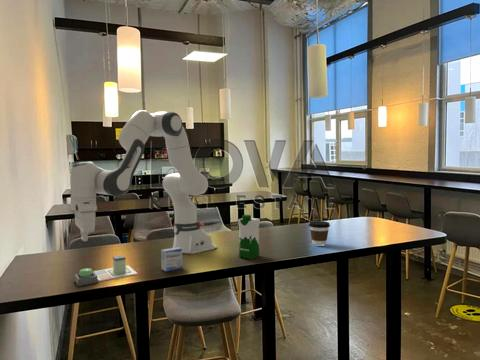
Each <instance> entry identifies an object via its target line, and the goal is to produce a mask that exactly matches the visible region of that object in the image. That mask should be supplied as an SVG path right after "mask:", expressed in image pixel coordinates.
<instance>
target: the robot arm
mask: <svg viewBox="0 0 480 360" xmlns="http://www.w3.org/2000/svg"><path fill="white" fill-rule="evenodd" d="M149 137H151V138H152V137H156V138H158V137H159V138H160V137H161V138H162V137H163V138H164V140H165V148H166V152H167V158H168V162H169V165H170V166H171V167H173V168H174V169H175V170H176V171H177V172H173V173H167V174H166V175H165V176H164V177H163V180H162V188H163V190H164V191H165V193H167V194H168V196H169V198H170V200H171V202H172V204H173V211H174V223H173V232H174V239H173V245H172V248H174V247H179V248H181V249H182V254H190V255H191V254H195V255H196V254H198V253H202V252H208V251H211V250H215V248H216V247H217V245H216V244H215V243H213V242H212V241H213V239H212V237H211V235H210V234H209V233H207V232H206V231H205V230H203V229H202V228H201V227H204V226H205V224H204V223H203V222H199V221H198V217H197V216H198V214H197V213H198V212H197V210H198V209H197V205H196V204H195V203H194V202H192V200H191V199H190V196H200V195H203V194H205V193H206V191H207V190H208V187H209V182H208V181H209V180H208V178H207V177H206V176H205V175H204V174H203V173H201V172H200V170H199V169H198V168H197V166H196V164H195V163H194V161H193V158H192V153H191V148H190V143H189V139H188V134H187V132H186V129H185V127H184V126H183V120H182V118H181V116H180V115H179V114H178V113H176V112H174V111H157V112H154V113H153V112H152V113H151V112H149V111H147V110H146V109H145V110H144V109H140V110H138V111H136V112H134V114H133V115H132V116H131V117H129V119H128V121H126V122H125V125H124V126H123V127H122V129H121V130H120V132H119V134H118V142H119V144H120V146H121V147H122V148H123V149H124V150H125V151H126V153H125V154H124V156H123V158H122V160H121V162H120V164H119V166H118V167H117V168H115V169H112V170H109V169H103V168H101V167H99V166H97V165H96V164H95V163H94V162H93V161H81V162H76V163H75V164H73V165H71V169H70V175H69V176H70V179H69V182H70V183H69V185H70V189H71V193H70V210H71V211H74V223H75V226H76V227H78V228H79V230H80V231H79V232H80V236H81V241H82V242H87V241H88V240H89V238H88V237H89V233H94V232H95V228H96V212H97V211H98V205H97V194H99V195H106V196H108V195H109V196H113V197H116V198H118V197H119V198H120V197H124V196H125V195H126V194H127V193H128V192H129V190H130V188H131V187H132V186H131V185H132V180H133V177H134V175H135V172H136V171H137V168H138V165H139V164H140V161H141V160H142V157H143V154H144V152H145V144H146V142H147V141H148V140H149ZM216 249H217V248H216Z"/></svg>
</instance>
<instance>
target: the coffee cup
mask: <svg viewBox="0 0 480 360" xmlns="http://www.w3.org/2000/svg"><path fill="white" fill-rule="evenodd" d="M330 226H331V224H330V222H328V221H325V220H313V221H309V223H308V227H309V228H310V230H309V232H310V236H311V240H312V241H311V242H312V245H313V244H317V245H322V244H326V243H327V240H328V235H329V228H330Z"/></svg>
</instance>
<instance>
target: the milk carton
mask: <svg viewBox="0 0 480 360" xmlns="http://www.w3.org/2000/svg"><path fill="white" fill-rule="evenodd" d="M260 222H261V219H260V218H255V217H252V215H251V214H242V217H241V218H239V219H237V224H238V243H239V245H238V247H239V248H238V258H239V257H243V258H242V259H244V258H249V259H248V260H250V259H252V260H254V259H253V258H255V257H257V256H259V255H260V239H259V238H260V237H259V235H260V231H259V229H260ZM259 257H260V256H259ZM257 258H258V257H257ZM255 259H256V258H255Z"/></svg>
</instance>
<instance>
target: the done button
mask: <svg viewBox="0 0 480 360" xmlns="http://www.w3.org/2000/svg"><path fill="white" fill-rule="evenodd" d="M92 271H93V269H92V268H89V267H88V268H87V267H86V268H82V269H79V274H80V278H85V277H91V276H92Z"/></svg>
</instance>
